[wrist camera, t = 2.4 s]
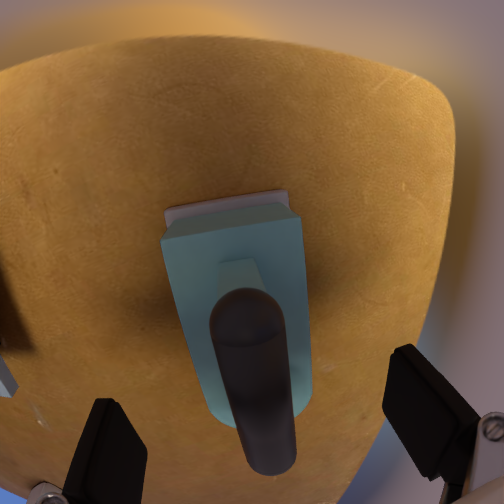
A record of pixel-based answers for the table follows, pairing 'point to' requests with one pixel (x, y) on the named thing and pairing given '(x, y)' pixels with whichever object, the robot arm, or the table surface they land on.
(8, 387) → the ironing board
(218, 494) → the table surface
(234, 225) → the iron
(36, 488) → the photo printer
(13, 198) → the table surface
